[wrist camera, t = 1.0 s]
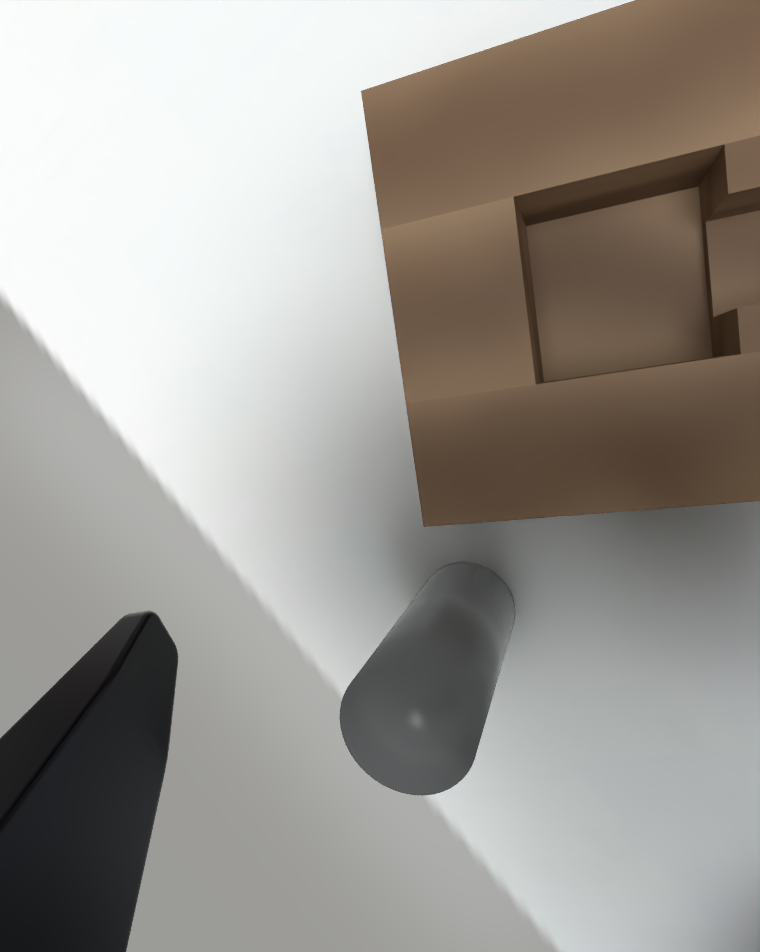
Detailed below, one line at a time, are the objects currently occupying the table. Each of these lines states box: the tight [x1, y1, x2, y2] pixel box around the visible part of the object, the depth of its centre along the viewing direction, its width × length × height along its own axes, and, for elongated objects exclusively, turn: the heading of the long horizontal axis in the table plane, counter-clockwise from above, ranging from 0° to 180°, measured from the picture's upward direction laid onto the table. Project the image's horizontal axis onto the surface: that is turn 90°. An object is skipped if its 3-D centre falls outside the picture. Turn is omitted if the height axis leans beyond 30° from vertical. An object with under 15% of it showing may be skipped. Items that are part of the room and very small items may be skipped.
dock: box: [361, 0, 760, 527], centre depth 17 cm, size 12×12×4 cm
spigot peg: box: [340, 563, 515, 795], centre depth 18 cm, size 3×3×8 cm
